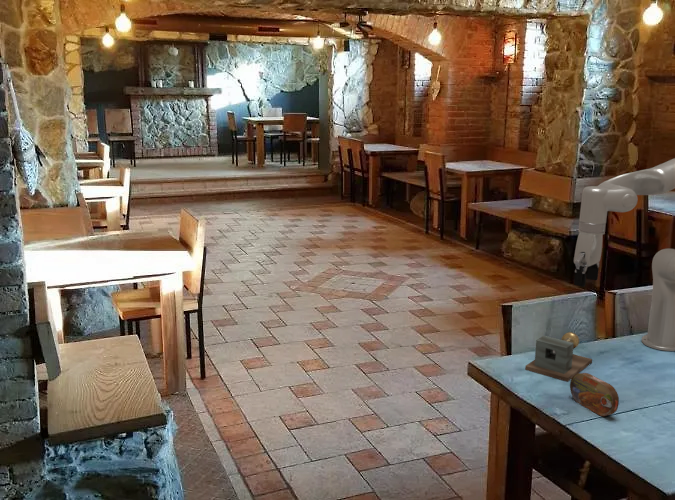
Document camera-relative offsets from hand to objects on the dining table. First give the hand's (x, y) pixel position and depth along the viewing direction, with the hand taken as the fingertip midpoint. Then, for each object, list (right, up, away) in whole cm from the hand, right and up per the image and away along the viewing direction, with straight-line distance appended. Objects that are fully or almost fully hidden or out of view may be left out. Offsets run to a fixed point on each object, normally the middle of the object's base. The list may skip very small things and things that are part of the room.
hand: (585, 282), depth 207 cm
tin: (-9, -32, -30) cm, 45 cm away
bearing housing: (-9, -25, -3) cm, 27 cm away
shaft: (-9, -21, -4) cm, 23 cm away
